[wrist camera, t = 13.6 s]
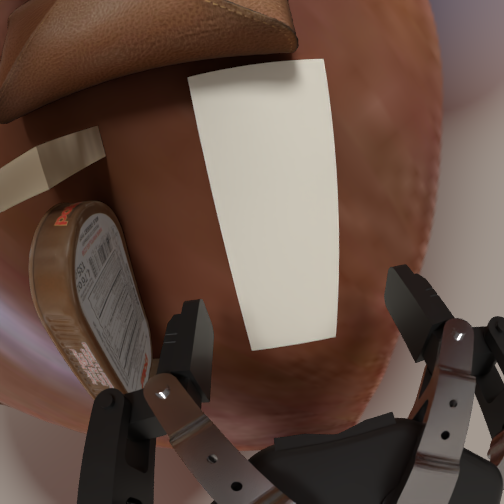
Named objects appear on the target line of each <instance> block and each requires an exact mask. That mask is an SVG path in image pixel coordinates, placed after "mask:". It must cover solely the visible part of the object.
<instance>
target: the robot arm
mask: <svg viewBox="0 0 504 504" xmlns="http://www.w3.org/2000/svg"><path fill="white" fill-rule="evenodd" d="M384 299H385V304H386V307H387V309H388V311H389V313H390V315H391V316H392V318H393V320H394V322H395V324H396V326H397V327H398V329H399V331H400V333H401V335H402V337H403V339H404V341H405V343H406V344H407V347H408V349H409V351H410V353H411V355H412V357H413V359H414V361H415V363H417V362H420V361H423V360H425V362H426V366H425V369H424V372H423V376H422V380H421V384H420V387H419V391H418V394H417V398H416V401H415V404H414V406H413V408H412V411H411V412H410V414H409V417H408V419H405V418H394V415H393V413H392V412H390V413H387V414H384V415H381V416H377V417H374V418H371V419H367V420H364V421H363V422H361V423H359V424H357V425H355V426H353V427H351V428H349V429H347V430H345V431H343V432H341V433H339V434H335V435H328V434H300V435H294V436H287V437H280V438H274V445H272V446H269V447H267V448H265V449H263V450H261V451H259V452H258V453H256V454H255V455H253V456H252V457H251V458H250V459H249V460H247V459H246V458H245V457H244V456H243V455H242V454H241V453H240V452H239V451H238V450H237V449H236V448H235V447H234V446H233V445H232V444H231V443H230V441H229V440H228V439H227V438H226V437H225V436H224V435H223V434H222V433H221V432H220V430H219V429H218V428H217V427H216V426H215V425H214V424H213V422H212V421H211V420H210V419H209V418H208V417H207V416H206V415H205V414H204V413H203V411H202V410H201V403H202V402H210V388H211V371H212V356H213V341H214V333H213V327H212V323H211V321H210V318H209V315H208V313H207V310H206V307H205V304H204V302H203V300H202V299H198V300H190V301H184V303H183V307H182V312H181V314H176V315H174V316H173V317H172V319H171V320H170V321H169V323H168V324H167V329H166V333H165V335H166V336H165V337H164V341H163V342H164V344H163V346H162V350H161V355H160V359H159V364H158V368H157V373H156V375H155V376H153V377H151V378H150V379H149V380H148V381H147V382H146V384H145V386H144V388H142V389H140V390H136V391H133V392H130V393H126V394H123V393H122V392H121V391H119V390H118V389H115V388H108V389H105V390H103V391H101V392H100V393H99V394H98V395H97V397H96V398H95V400H94V404H93V408H92V412H91V417H90V422H89V426H88V431H87V436H86V442H85V447H84V453H83V459H82V466H81V473H80V480H79V488H78V498H77V504H153V500H154V498H153V497H154V466H155V448H156V437H160V436H163V435H167V434H168V436H169V438H170V440H169V441H170V443H171V445H172V447H173V448H174V449H175V451H176V452H177V454H178V455H179V457H180V458H181V459H182V461H183V462H184V463H185V465H186V466H187V467H188V469H189V470H190V471H191V473H192V474H193V475H194V476H195V478H196V479H197V480H198V482H199V483H200V484H201V485H202V486H203V488H204V489H205V490H206V491H207V492H208V494H209V495H210V496H211V497H212V498H213V499H214V501H213V502H212V503H211V504H500V500H501V496H502V491H503V490H504V383H503V381H502V379H501V377H500V375H499V373H498V371H497V369H496V367H495V364H496V362H497V363H498V365H499V367H500V368H501V371H502V372H503V374H504V318H503V317H499V316H497V317H493V318H492V319H491V320H490V321H489V323H488V325H487V326H486V327H472V326H471V325H470V324H469V323H468V322H467V321H465V320H463V319H459V318H454V316H453V315H452V314H451V312H450V311H449V309H448V308H447V307H446V305H445V304H444V302H443V301H442V300H441V298H440V297H439V296H438V295H437V293H436V292H435V290H434V289H432V286H431V285H430V284H429V282H428V281H427V280H426V279H425V278H423V277H422V276H420V275H419V274H417V273H416V274H414V273H413V272H412V271H411V270H410V268H409V267H408V266H407V265H406V264H404V265H399V266H394V267H390V268H389V270H388V276H387V282H386V288H385V295H384ZM474 393H475V395H476V397H477V400H478V402H479V405H480V407H481V410H482V412H483V415H484V418H485V421H486V423H487V426H488V429H489V432H490V435H491V438H492V441H491V444H490V449H489V451H488V453H487V456H488V458H489V459H490V461H488V460H486V459H484V458H482V457H480V456H478V455H476V454H474V453H472V452H471V451H469V450H467V449H465V448H464V443H465V438H466V434H467V430H468V426H469V421H470V416H471V411H472V405H473V399H474Z"/></svg>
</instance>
